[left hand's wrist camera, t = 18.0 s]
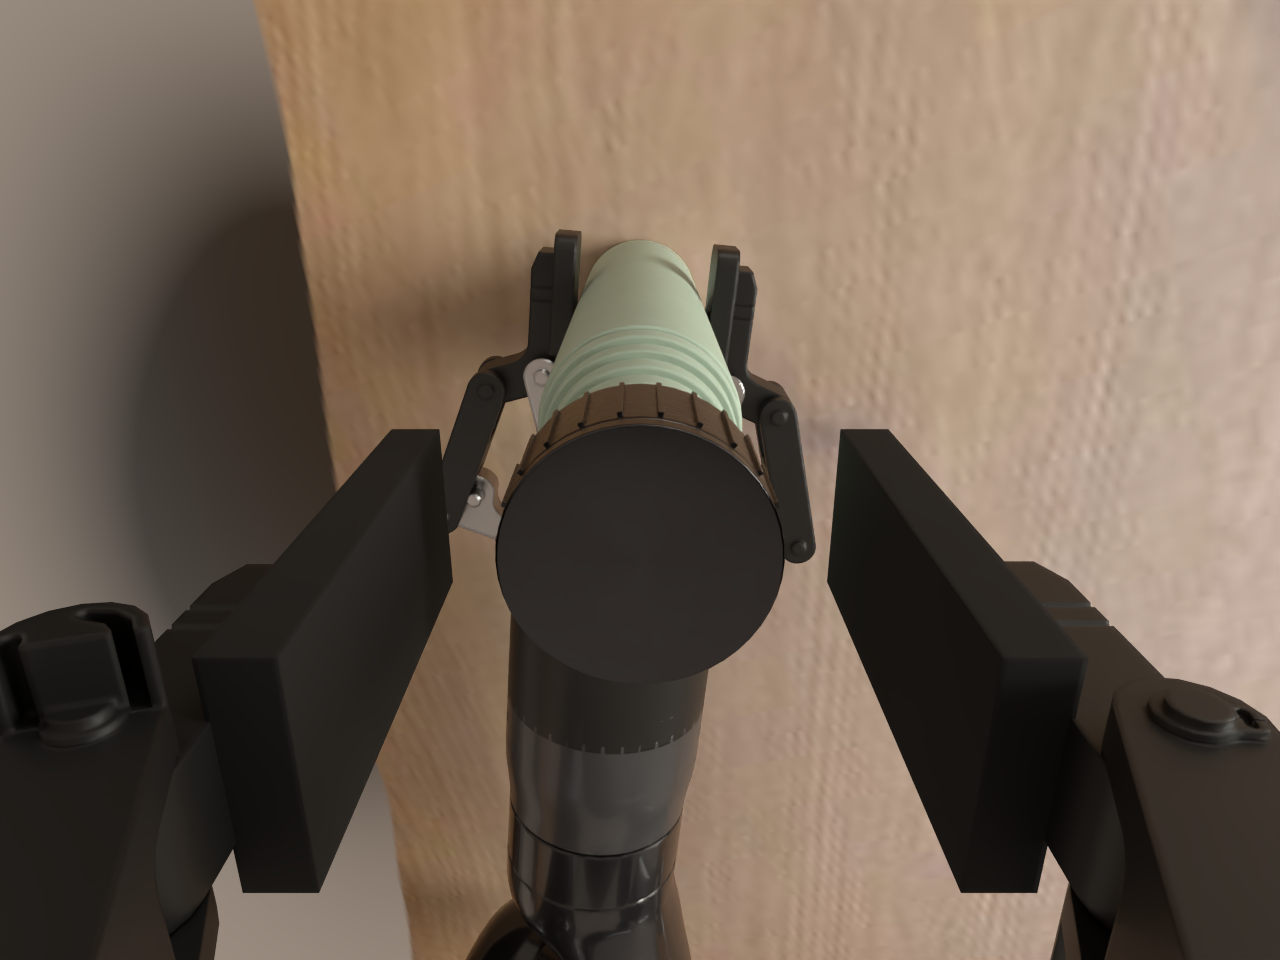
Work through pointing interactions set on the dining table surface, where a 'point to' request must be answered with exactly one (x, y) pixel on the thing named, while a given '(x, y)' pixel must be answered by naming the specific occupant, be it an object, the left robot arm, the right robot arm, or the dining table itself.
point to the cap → (640, 536)
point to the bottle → (639, 333)
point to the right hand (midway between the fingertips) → (646, 242)
